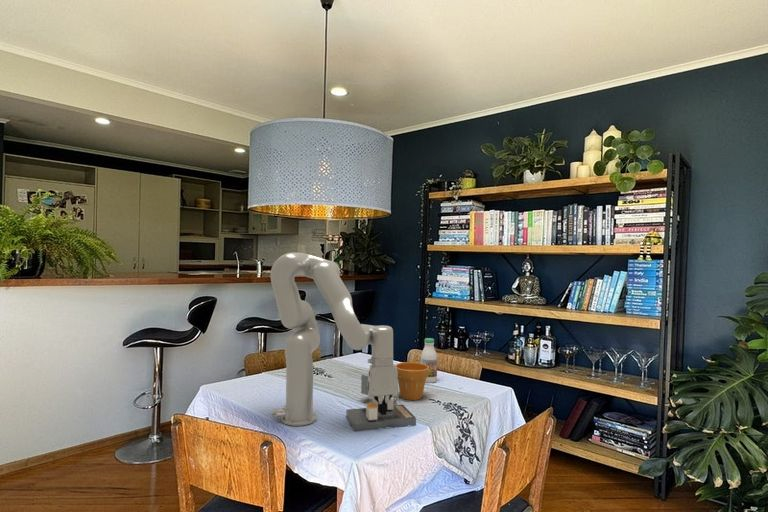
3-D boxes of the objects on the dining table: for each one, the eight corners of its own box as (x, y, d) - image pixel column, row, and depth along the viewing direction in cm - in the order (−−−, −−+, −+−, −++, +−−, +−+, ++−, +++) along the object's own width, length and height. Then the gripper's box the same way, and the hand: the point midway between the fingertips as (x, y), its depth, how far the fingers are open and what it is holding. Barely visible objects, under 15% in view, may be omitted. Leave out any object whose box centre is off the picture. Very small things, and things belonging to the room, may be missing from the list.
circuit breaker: (370, 397, 185) (370, 361, 185) (397, 404, 176) (397, 367, 176) (357, 401, 180) (358, 364, 179) (385, 409, 170) (385, 371, 170)
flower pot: (423, 391, 194) (424, 361, 194) (432, 402, 180) (432, 370, 180) (391, 392, 192) (392, 362, 192) (398, 403, 178) (398, 371, 178)
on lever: (385, 410, 162) (385, 399, 162) (382, 406, 166) (382, 395, 166) (393, 409, 163) (393, 398, 163) (390, 405, 167) (390, 395, 167)
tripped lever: (368, 420, 152) (368, 406, 152) (365, 416, 156) (365, 403, 156) (377, 419, 153) (377, 406, 153) (374, 415, 157) (374, 402, 157)
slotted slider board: (354, 431, 150) (354, 423, 150) (346, 416, 163) (346, 409, 163) (415, 425, 156) (416, 417, 156) (402, 411, 169) (403, 404, 169)
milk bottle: (417, 380, 211) (417, 338, 211) (429, 377, 215) (429, 336, 215) (428, 384, 205) (428, 341, 204) (440, 381, 209) (441, 339, 209)
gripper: (364, 365, 149) (364, 420, 150) (406, 362, 154) (406, 415, 154) (359, 360, 157) (359, 412, 157) (399, 357, 161) (399, 408, 161)
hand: (382, 413), depth 155 cm, fingers closed
